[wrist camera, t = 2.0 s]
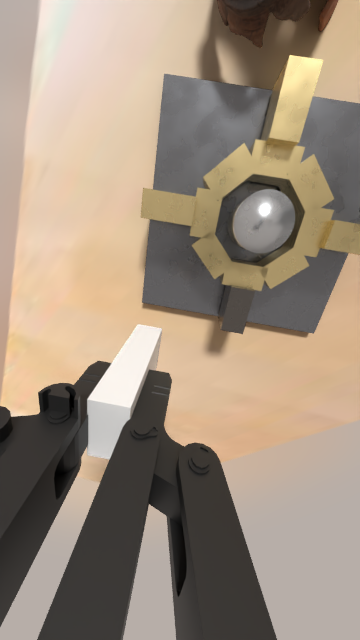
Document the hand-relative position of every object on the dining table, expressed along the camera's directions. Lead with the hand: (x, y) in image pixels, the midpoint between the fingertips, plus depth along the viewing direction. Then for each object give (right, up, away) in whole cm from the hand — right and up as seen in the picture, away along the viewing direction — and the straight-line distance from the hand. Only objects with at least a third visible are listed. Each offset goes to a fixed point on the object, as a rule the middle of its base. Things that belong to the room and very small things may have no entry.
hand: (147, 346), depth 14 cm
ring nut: (+10, +12, +10) cm, 18 cm away
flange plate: (+10, +12, +11) cm, 19 cm away
